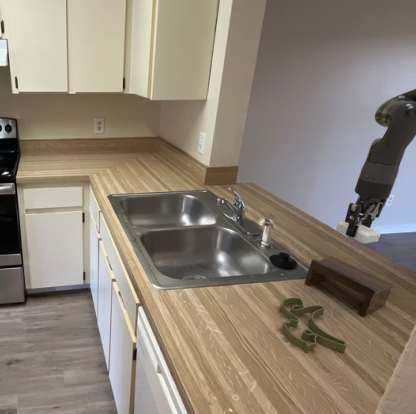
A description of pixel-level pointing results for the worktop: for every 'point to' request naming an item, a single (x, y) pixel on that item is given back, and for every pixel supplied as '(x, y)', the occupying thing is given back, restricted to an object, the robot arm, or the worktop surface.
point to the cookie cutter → (307, 335)
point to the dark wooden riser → (351, 281)
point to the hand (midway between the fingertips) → (356, 233)
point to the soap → (360, 233)
